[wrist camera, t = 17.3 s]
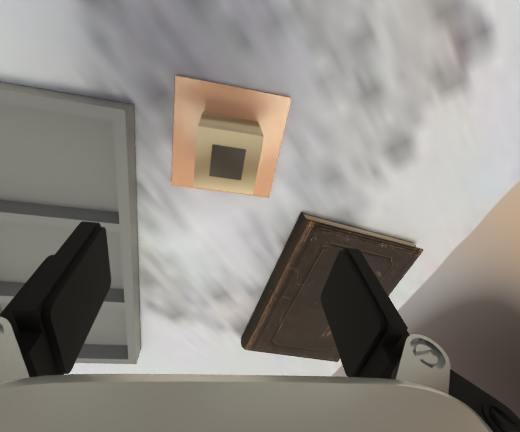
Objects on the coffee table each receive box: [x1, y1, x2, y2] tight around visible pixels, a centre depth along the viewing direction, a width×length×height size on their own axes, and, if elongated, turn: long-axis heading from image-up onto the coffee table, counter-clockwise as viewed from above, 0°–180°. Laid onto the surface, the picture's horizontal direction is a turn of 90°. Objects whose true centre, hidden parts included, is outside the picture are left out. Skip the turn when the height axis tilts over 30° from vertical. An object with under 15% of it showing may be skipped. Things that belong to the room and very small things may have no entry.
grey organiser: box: [0, 82, 141, 364], centre depth 31 cm, size 34×17×2 cm, turn 169°
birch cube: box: [193, 112, 264, 195], centre depth 25 cm, size 5×5×5 cm
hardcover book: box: [241, 212, 423, 362], centre depth 39 cm, size 16×23×2 cm
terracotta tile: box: [171, 75, 292, 198], centre depth 27 cm, size 10×10×1 cm
